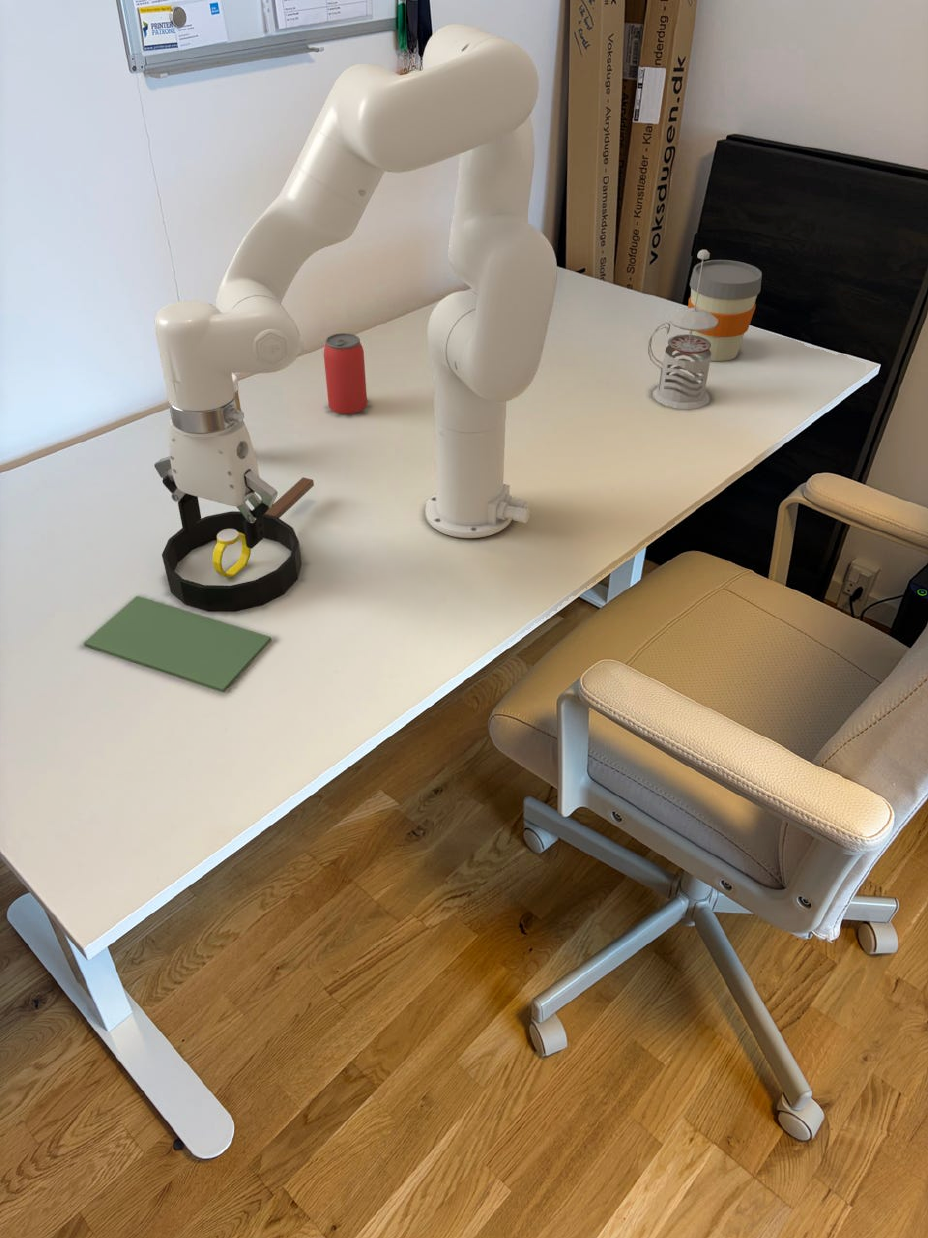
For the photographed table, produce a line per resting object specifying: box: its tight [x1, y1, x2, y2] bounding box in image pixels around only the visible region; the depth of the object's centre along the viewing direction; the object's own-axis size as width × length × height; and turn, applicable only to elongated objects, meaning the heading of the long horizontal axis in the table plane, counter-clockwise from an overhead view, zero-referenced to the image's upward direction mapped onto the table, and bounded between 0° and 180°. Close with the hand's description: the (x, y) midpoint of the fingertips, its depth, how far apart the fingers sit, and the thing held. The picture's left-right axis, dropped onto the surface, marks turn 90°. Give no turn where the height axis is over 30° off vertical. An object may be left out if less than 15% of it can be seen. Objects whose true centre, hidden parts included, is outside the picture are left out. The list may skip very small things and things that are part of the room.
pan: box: [161, 477, 315, 613], centre depth 129 cm, size 28×17×4 cm, turn 156°
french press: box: [647, 249, 718, 410], centre depth 158 cm, size 10×12×25 cm
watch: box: [211, 529, 252, 578], centre depth 125 cm, size 6×3×6 cm, turn 150°
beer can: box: [323, 332, 368, 416], centre depth 159 cm, size 7×7×12 cm
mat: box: [83, 595, 272, 693], centre depth 115 cm, size 20×10×1 cm, turn 66°
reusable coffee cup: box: [687, 259, 763, 362], centre depth 176 cm, size 13×13×15 cm
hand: (223, 533), depth 122 cm, fingers open, 9 cm apart
